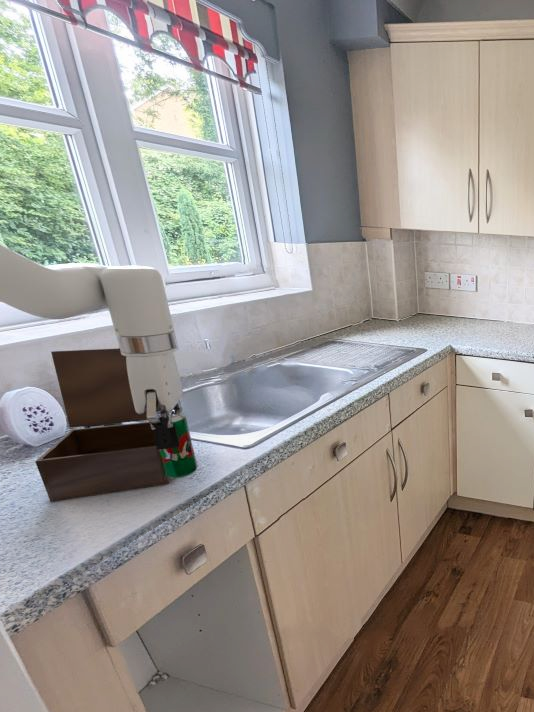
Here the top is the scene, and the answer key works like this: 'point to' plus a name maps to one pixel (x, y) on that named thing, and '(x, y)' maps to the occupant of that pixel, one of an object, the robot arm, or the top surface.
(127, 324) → the robot arm
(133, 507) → the top surface
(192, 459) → the soda can
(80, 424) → the lid
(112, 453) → the chest
